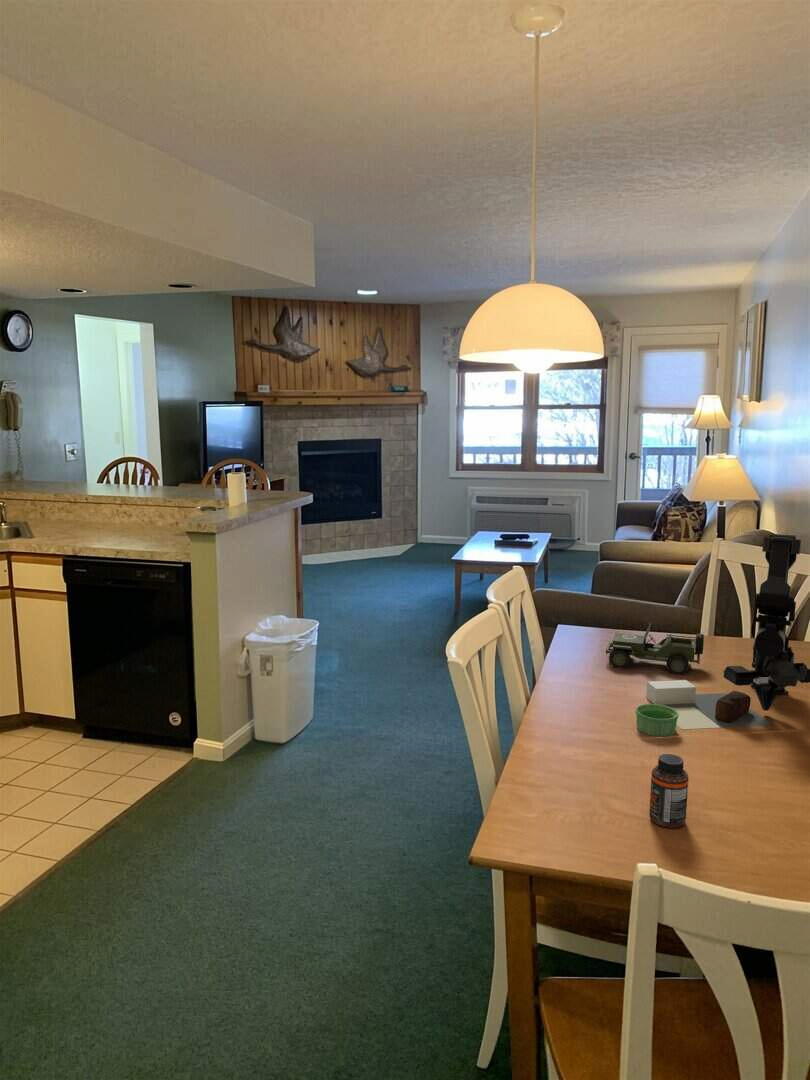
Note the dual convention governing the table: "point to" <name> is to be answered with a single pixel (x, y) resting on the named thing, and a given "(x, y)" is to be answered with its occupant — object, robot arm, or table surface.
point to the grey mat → (711, 714)
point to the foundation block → (671, 692)
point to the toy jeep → (656, 650)
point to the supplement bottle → (669, 792)
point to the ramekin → (656, 719)
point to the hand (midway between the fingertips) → (765, 710)
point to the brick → (732, 706)
